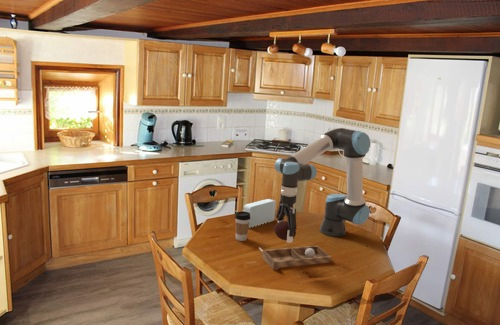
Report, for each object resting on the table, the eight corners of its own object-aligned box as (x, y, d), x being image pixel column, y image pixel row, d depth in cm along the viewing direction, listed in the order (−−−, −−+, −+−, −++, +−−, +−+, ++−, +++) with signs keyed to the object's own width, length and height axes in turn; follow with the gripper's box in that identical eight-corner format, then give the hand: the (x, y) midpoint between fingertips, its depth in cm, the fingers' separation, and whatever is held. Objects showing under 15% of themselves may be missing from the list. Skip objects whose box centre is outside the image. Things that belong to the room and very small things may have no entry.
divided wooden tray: (316, 252, 234) (317, 245, 233) (330, 264, 221) (330, 256, 220) (262, 257, 223) (262, 250, 222) (273, 270, 210) (273, 262, 209)
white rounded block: (267, 218, 282) (269, 198, 279) (274, 220, 278) (276, 200, 275) (241, 225, 265) (243, 204, 262) (248, 228, 261) (250, 207, 258)
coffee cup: (246, 242, 240) (248, 216, 237) (231, 240, 241) (233, 214, 238) (250, 237, 248) (252, 211, 245) (235, 235, 250) (237, 209, 246)
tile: (269, 247, 236) (269, 246, 236) (276, 255, 227) (276, 253, 227) (258, 248, 234) (258, 246, 234) (265, 256, 225) (266, 254, 224)
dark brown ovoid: (289, 245, 210) (291, 227, 208) (268, 238, 217) (270, 220, 215) (299, 240, 217) (301, 222, 215) (279, 233, 224) (280, 216, 222)
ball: (311, 255, 228) (312, 246, 226) (316, 259, 223) (317, 250, 222) (302, 256, 226) (303, 246, 225) (307, 260, 221) (308, 250, 220)
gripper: (271, 187, 221) (268, 229, 226) (292, 202, 200) (287, 247, 204) (285, 187, 224) (281, 228, 228) (306, 201, 202) (302, 246, 207)
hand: (284, 237), depth 216 cm, fingers closed on dark brown ovoid, 11 cm apart
